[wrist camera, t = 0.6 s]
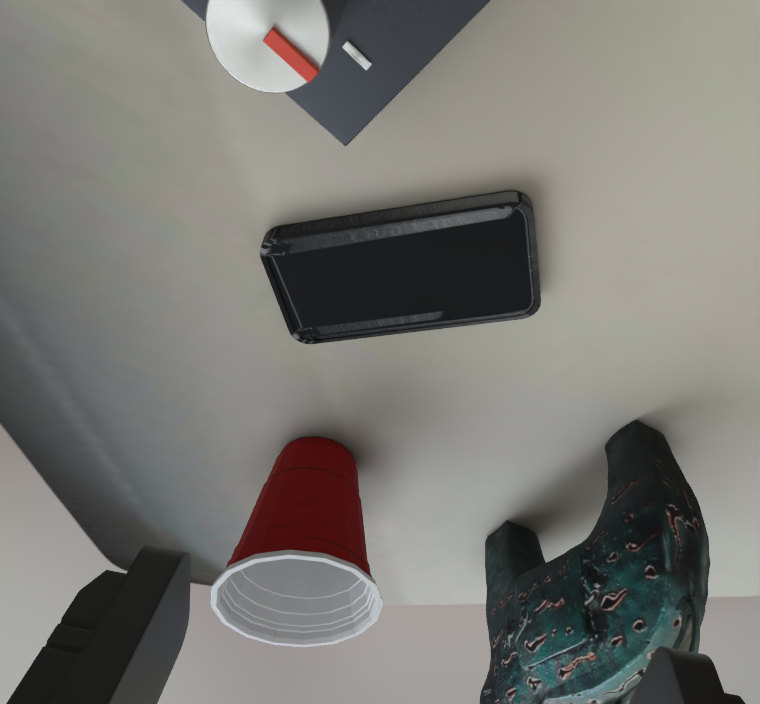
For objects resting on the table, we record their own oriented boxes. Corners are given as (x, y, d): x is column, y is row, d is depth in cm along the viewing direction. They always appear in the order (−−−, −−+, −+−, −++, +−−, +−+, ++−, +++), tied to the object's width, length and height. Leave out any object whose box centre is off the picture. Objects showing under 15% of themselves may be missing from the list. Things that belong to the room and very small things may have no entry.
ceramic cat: (516, 564, 60) (541, 839, 46) (453, 540, 59) (457, 818, 44) (691, 436, 48) (801, 754, 33) (618, 400, 46) (701, 720, 32)
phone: (254, 240, 38) (532, 199, 36) (258, 229, 39) (530, 188, 36) (295, 347, 44) (542, 318, 41) (298, 335, 44) (540, 306, 41)
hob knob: (214, -9, 28) (177, 35, 24) (281, -101, 26) (252, -70, 22) (299, 68, 30) (277, 121, 26) (368, -11, 28) (355, 33, 24)
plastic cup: (414, 488, 54) (408, 639, 45) (291, 514, 58) (263, 659, 49) (355, 395, 48) (336, 550, 39) (221, 430, 51) (174, 580, 42)
